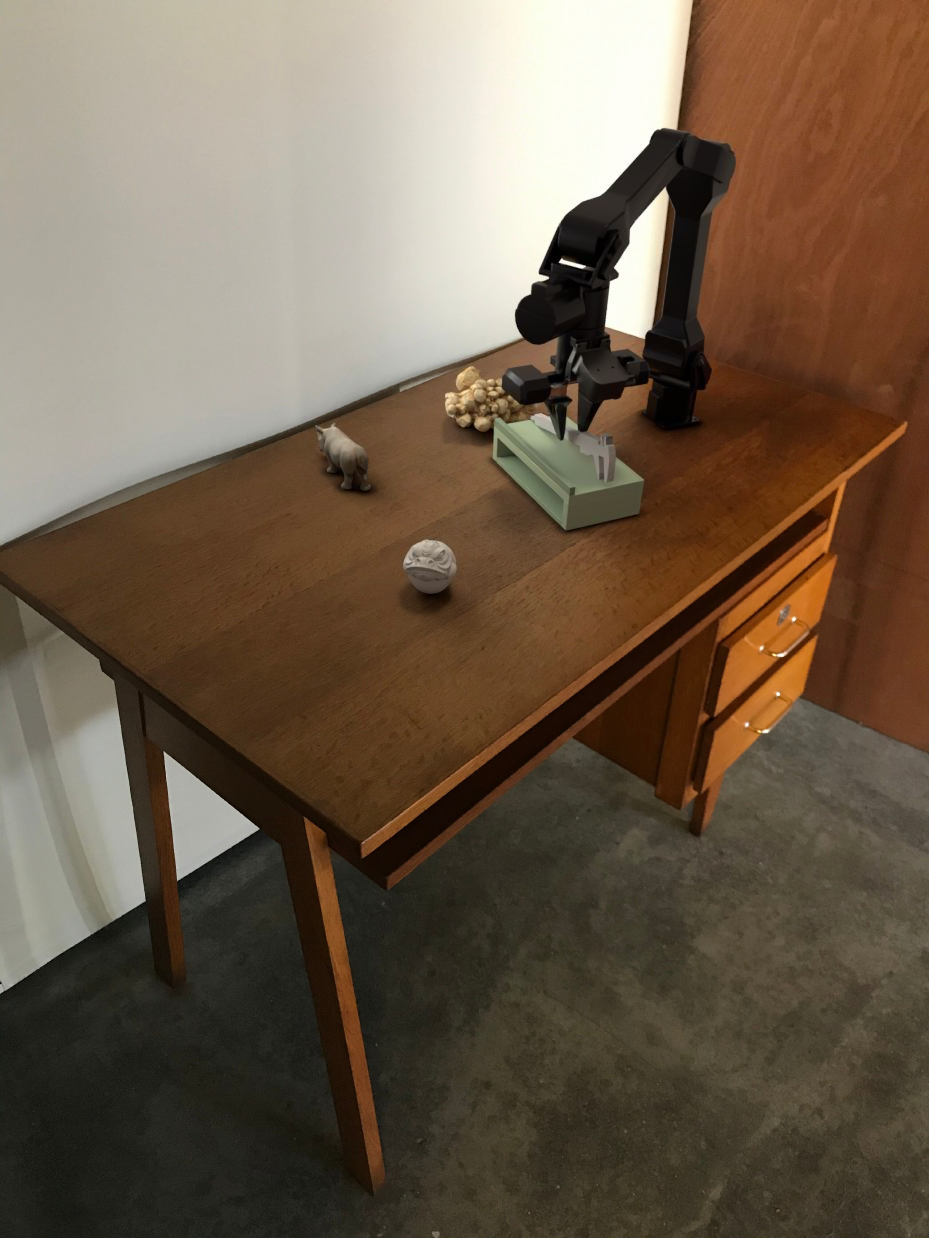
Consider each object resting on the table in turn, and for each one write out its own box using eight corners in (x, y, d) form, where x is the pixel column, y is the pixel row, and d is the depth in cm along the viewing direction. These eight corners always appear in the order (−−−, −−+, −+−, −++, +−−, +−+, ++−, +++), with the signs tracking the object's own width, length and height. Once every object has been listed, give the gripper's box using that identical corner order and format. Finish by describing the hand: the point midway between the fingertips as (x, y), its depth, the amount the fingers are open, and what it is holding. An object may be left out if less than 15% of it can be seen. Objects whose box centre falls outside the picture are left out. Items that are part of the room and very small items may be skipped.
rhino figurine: (333, 447, 143) (331, 408, 140) (376, 489, 134) (375, 449, 130) (307, 453, 141) (304, 414, 138) (348, 496, 132) (346, 455, 128)
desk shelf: (560, 445, 146) (564, 405, 142) (639, 514, 130) (645, 471, 127) (492, 458, 142) (494, 418, 138) (565, 531, 127) (570, 487, 123)
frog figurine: (396, 604, 113) (395, 552, 109) (412, 570, 118) (411, 520, 114) (449, 612, 112) (450, 560, 108) (462, 577, 118) (463, 527, 113)
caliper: (613, 484, 126) (619, 439, 123) (605, 486, 126) (611, 440, 122) (536, 418, 141) (539, 376, 137) (529, 420, 141) (532, 377, 137)
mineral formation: (545, 419, 152) (491, 450, 141) (472, 411, 159) (416, 439, 148) (543, 367, 148) (488, 394, 138) (469, 360, 155) (410, 385, 145)
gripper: (546, 356, 114) (537, 478, 123) (683, 334, 120) (664, 451, 130) (502, 323, 122) (497, 439, 131) (633, 304, 128) (618, 416, 138)
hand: (570, 437), depth 132 cm, fingers open, 3 cm apart
